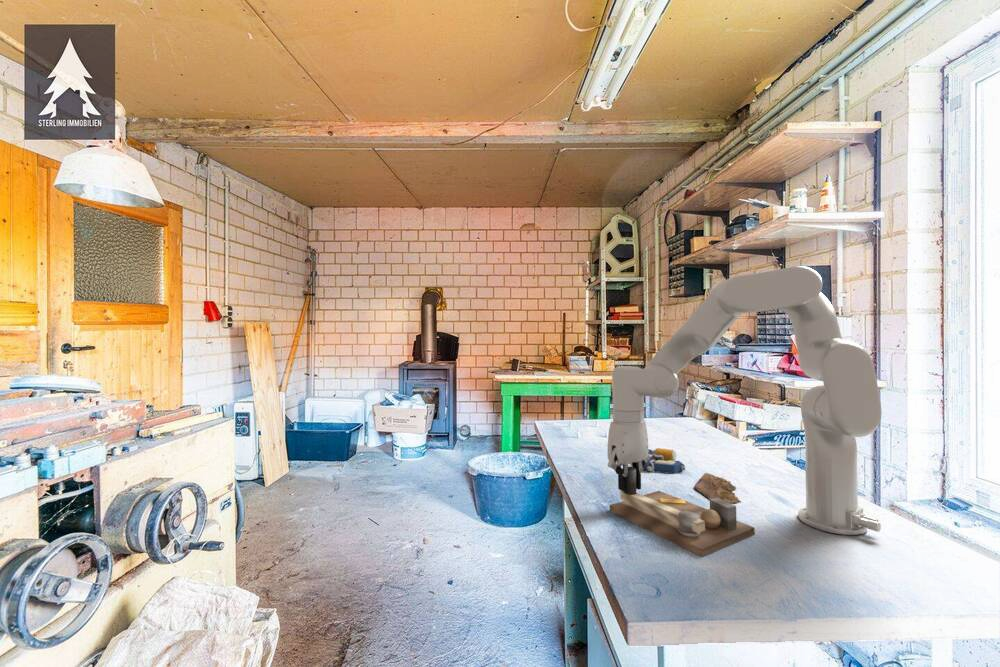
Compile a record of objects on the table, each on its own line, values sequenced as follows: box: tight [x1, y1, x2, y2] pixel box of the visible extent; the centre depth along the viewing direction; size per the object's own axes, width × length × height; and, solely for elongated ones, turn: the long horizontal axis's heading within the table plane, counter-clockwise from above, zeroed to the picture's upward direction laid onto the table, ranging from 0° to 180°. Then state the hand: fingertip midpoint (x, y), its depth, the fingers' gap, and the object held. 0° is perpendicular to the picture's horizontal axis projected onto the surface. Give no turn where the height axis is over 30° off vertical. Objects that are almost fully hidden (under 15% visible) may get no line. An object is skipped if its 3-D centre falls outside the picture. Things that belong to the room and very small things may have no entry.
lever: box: [619, 465, 705, 533], centre depth 101 cm, size 22×4×8 cm, turn 29°
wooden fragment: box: [693, 472, 742, 505], centre depth 124 cm, size 26×11×1 cm, turn 158°
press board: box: [609, 490, 756, 558], centre depth 103 cm, size 26×18×6 cm
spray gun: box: [643, 447, 686, 474], centre depth 147 cm, size 21×4×15 cm
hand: (629, 488), depth 109 cm, fingers closed on lever, 3 cm apart
